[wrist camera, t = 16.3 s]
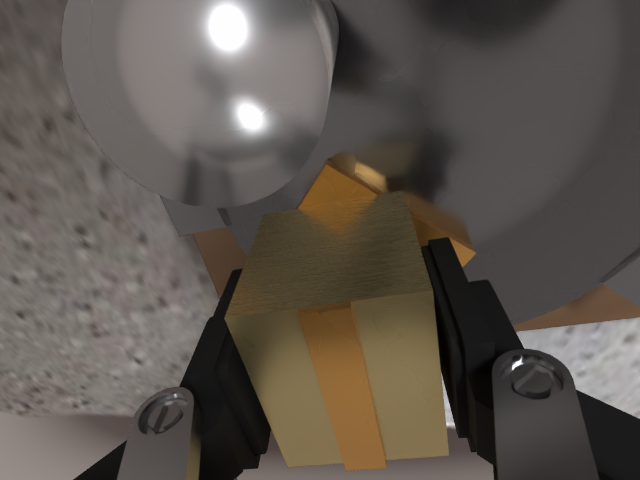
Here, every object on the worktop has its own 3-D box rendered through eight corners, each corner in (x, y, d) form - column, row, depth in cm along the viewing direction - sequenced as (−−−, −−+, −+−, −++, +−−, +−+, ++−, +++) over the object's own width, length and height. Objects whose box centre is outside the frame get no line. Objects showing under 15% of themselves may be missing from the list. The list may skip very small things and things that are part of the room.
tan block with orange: (263, 214, 12) (221, 324, 8) (402, 190, 11) (435, 296, 7) (303, 340, 14) (286, 475, 10) (419, 326, 14) (450, 463, 10)
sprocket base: (45, -167, 10) (9, -186, 9) (882, -458, 8) (973, -536, 7) (251, 346, 19) (245, 368, 18) (679, 293, 16) (703, 315, 15)
